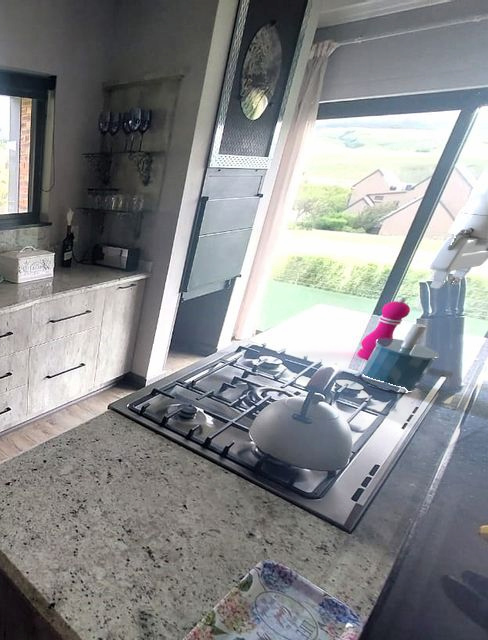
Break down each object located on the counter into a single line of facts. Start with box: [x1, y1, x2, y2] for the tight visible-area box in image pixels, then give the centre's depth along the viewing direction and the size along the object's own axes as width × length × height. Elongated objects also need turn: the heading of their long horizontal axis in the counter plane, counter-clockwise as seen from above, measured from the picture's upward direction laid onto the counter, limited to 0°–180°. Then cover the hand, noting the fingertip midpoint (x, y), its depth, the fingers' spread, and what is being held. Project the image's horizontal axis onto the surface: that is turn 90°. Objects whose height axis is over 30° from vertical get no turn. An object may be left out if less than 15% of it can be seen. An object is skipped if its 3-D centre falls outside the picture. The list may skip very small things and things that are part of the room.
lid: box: [376, 323, 440, 361], centre depth 108 cm, size 13×13×8 cm
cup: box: [360, 345, 435, 392], centre depth 112 cm, size 12×12×10 cm
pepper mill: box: [357, 296, 411, 361], centre depth 124 cm, size 7×7×20 cm
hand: (444, 286), depth 101 cm, fingers open, 8 cm apart
